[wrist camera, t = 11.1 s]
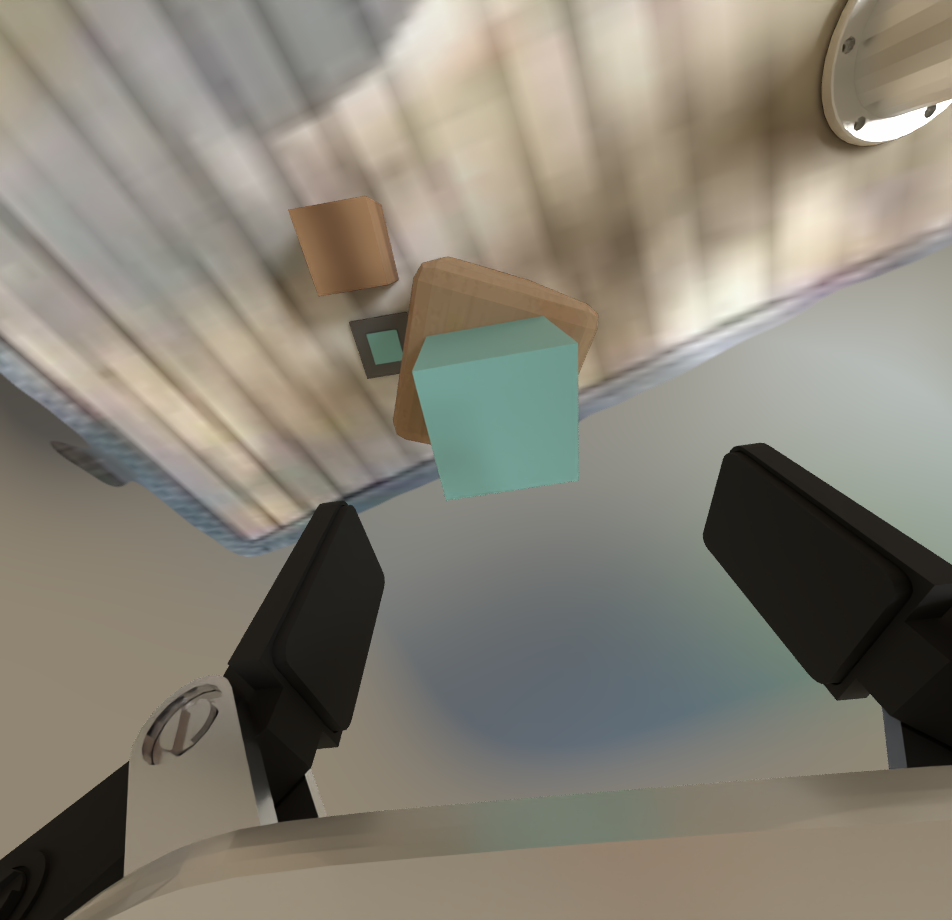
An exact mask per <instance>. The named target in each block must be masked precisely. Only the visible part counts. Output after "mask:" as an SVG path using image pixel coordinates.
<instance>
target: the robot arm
mask: <svg viewBox="0 0 952 920" xmlns="http://www.w3.org/2000/svg"><path fill="white" fill-rule="evenodd" d="M822 103H823V109H824V114H825V117H826V119H827V121H828V124H829V126H830V128H831V129H832V130H833V132H834V133H835V134H836V135H837V136H838V137H839V138H840V139H842V140H844V141H846V142H847V143H849V144H854V145H859V146H869V145H877V144H881V143H885V142H889V141H893V140H895V139H898V138H900V137H903V136H906V135H908V134H910V133H912V132H913V131H915V130H917V129H918V128H920V127H922V126H924V125H925V124H927V123H928V122H929V121H931V120H932V119H933V118H934V117H936V116H937V115H938V114H940V113H941V112H942V111H943V110H944V109H945V108H947V107H948V106H949V105H950V104H951V103H952V0H848V2H847V4H846V6H845V8H844V9H843V11H842V14H841V16H840V18H839V21H838V23H837V26H836V28H835V30H834V33H833V35H832V38H831V42H830V45H829V48H828V52H827V55H826V59H825V64H824V71H823V77H822ZM703 540H704V543H705V545H706V547H707V548H708V550H709V551H710V552H711V553H712V554H713V556H714V557H715V558H716V559H717V561H718V562H719V563H720V565H721V566H722V567H723V568H724V569H725V571H726V572H727V573H728V575H729V576H730V577H731V578H732V579H733V581H734V582H735V583H736V584H737V586H738V587H739V588H740V589H741V591H742V592H743V593H744V594H745V596H746V597H747V598H748V599H749V601H750V602H751V603H752V604H753V606H754V607H755V608H756V609H757V611H758V612H759V613H760V614H761V616H762V617H763V618H764V619H765V621H766V622H767V623H768V624H769V626H770V627H771V628H772V629H773V631H774V632H775V633H776V634H777V636H778V637H779V638H780V639H781V641H782V642H783V643H784V644H785V646H786V647H787V648H788V649H789V650H790V652H791V653H792V654H793V656H795V658H796V659H797V661H798V662H799V663H800V664H801V665H802V667H803V668H804V669H805V670H806V672H807V673H808V674H809V675H810V676H811V677H812V678H813V679H814V680H816V681H817V682H819V683H821V684H824V685H825V686H826V688H827V689H828V690H829V692H830V693H831V694H832V695H833V696H834V697H835V699H836V700H847V699H859V698H866V697H867V696H868V695H869V694H871V695H872V696H873V697H874V698H875V700H876V701H877V702H878V703H879V704H880V705H881V706H882V712H883V720H884V730H885V739H886V748H887V757H888V765H889V770H878V771H864V772H851V773H838V774H825V775H811V776H799V777H785V778H772V779H759V780H746V781H733V782H721V783H709V784H696V785H685V786H684V785H683V786H671V787H658V788H647V789H634V790H622V791H609V792H597V793H585V794H573V795H561V796H548V797H536V798H525V799H514V800H502V801H490V802H478V803H467V804H455V805H443V806H432V807H420V808H408V809H397V810H385V811H376V812H367V813H357V814H348V815H339V816H330V817H327V814H326V811H325V808H324V805H323V803H322V799H321V797H320V794H319V791H318V788H317V785H316V782H315V779H314V776H313V773H312V771H311V766H312V763H313V760H314V756H315V753H316V750H317V749H322V748H332V747H338V746H339V742H340V738H341V734H342V731H343V730H346V729H347V728H348V727H349V725H350V723H351V720H352V716H353V712H354V708H355V704H356V700H357V696H358V692H359V687H360V684H361V679H362V675H363V671H364V667H365V663H366V659H367V655H368V651H369V647H370V643H371V638H372V634H373V630H374V626H375V622H376V618H377V614H378V610H379V606H380V601H381V598H382V594H383V589H384V583H385V581H384V574H383V572H382V569H381V567H380V564H379V562H378V560H377V558H376V555H375V553H374V551H373V549H372V546H371V544H370V542H369V539H368V537H367V535H366V532H365V530H364V528H363V526H362V523H361V521H360V519H359V517H358V514H357V512H356V510H355V508H354V507H353V506H352V505H348V504H347V503H346V502H345V501H336V502H329V503H322V504H320V505H319V506H318V507H317V509H316V511H315V513H314V514H313V516H312V518H311V520H310V521H309V523H308V525H307V526H306V528H305V530H304V532H303V533H302V535H301V537H300V539H299V540H298V542H297V544H296V546H295V547H294V549H293V551H292V553H291V554H290V556H289V558H288V560H287V561H286V563H285V565H284V566H283V568H282V570H281V572H280V573H279V575H278V577H277V579H276V580H275V582H274V584H273V586H272V587H271V589H270V591H269V592H268V594H267V596H266V598H265V599H264V601H263V603H262V605H261V606H260V608H259V610H258V612H257V613H256V615H255V617H254V618H253V620H252V622H251V624H250V625H249V627H248V629H247V631H246V632H245V634H244V636H243V638H242V639H241V641H240V643H239V645H238V646H237V648H236V650H235V651H234V653H233V655H232V657H231V659H230V660H229V662H228V665H229V667H228V669H227V670H226V672H225V674H224V676H223V677H222V676H220V675H208V676H205V677H202V678H199V679H196V680H194V681H192V682H190V683H189V684H187V685H185V686H183V687H181V688H180V689H179V690H177V691H176V692H175V693H174V694H172V695H171V696H170V697H168V698H167V699H166V700H165V701H164V702H163V703H162V704H161V705H160V706H159V707H158V708H157V709H156V710H155V711H154V712H153V713H152V715H151V716H150V717H149V719H148V720H147V721H146V723H145V724H144V725H143V727H142V728H141V730H140V732H139V734H138V736H137V738H136V739H135V741H134V744H133V746H132V751H131V754H130V759H129V761H128V762H127V763H126V764H124V765H123V766H122V767H120V768H119V769H118V770H116V771H115V772H114V773H113V774H111V775H110V776H109V777H107V778H106V779H105V780H104V781H102V782H101V783H100V784H98V785H97V786H96V787H94V788H93V789H92V790H91V791H89V792H88V793H87V794H85V795H84V796H83V797H82V798H80V799H79V800H78V801H76V802H75V803H74V804H72V805H71V806H70V807H69V808H67V809H66V810H65V811H63V812H62V813H61V814H59V815H58V816H57V817H56V818H54V819H53V820H52V821H51V822H49V823H48V824H47V825H45V826H44V827H43V828H41V829H40V830H39V831H37V832H36V833H35V834H33V835H32V836H31V837H30V838H28V839H27V840H26V841H24V842H23V843H22V844H20V845H19V846H18V847H17V848H15V849H14V850H13V851H11V852H10V853H9V854H7V855H6V856H5V857H4V858H2V859H1V860H0V920H952V565H951V564H950V563H948V562H946V561H945V560H944V559H942V558H940V557H939V556H937V555H936V554H934V553H933V552H931V551H930V550H928V549H927V548H925V547H924V546H922V545H921V544H919V543H917V542H916V541H914V540H913V539H911V538H910V537H908V536H907V535H905V534H904V533H902V532H901V531H899V530H898V529H896V528H895V527H893V526H891V525H890V524H888V523H887V522H885V521H884V520H882V519H881V518H879V517H878V516H876V515H875V514H873V513H872V512H870V511H868V510H867V509H865V508H864V507H862V506H861V505H859V504H858V503H856V502H855V501H853V500H852V499H850V498H848V497H847V496H845V495H844V494H842V493H841V492H839V491H838V490H836V489H835V488H833V487H832V486H830V485H829V484H827V483H826V482H824V481H822V480H821V479H819V478H818V477H816V476H815V475H813V474H812V473H810V472H809V471H807V470H805V469H804V468H803V467H801V466H800V465H798V464H797V463H795V462H793V461H792V460H790V459H789V458H787V457H786V456H784V455H782V454H781V453H780V452H778V451H776V450H775V449H774V448H772V447H770V446H769V445H767V444H765V443H756V444H748V445H741V446H736V447H733V448H732V450H730V453H728V454H726V455H725V456H724V458H723V461H722V465H721V469H720V473H719V476H718V480H717V484H716V487H715V491H714V495H713V498H712V502H711V506H710V510H709V513H708V517H707V521H706V524H705V528H704V532H703Z"/></svg>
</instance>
